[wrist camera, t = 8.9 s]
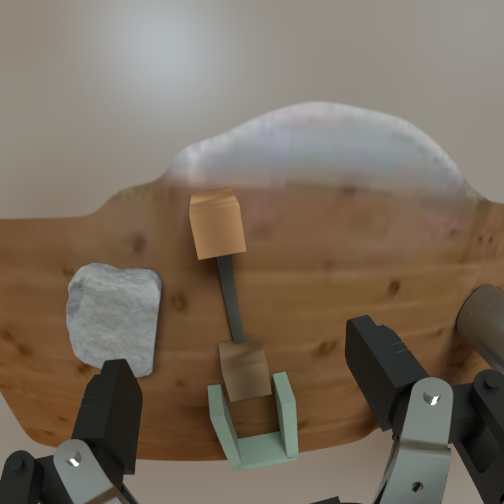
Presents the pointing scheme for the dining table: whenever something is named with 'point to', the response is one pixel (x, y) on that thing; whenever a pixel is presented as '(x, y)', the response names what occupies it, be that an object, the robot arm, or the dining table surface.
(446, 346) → the dining table surface
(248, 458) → the channel
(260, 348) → the wooden cube dumbbell
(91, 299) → the stone block
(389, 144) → the dining table surface
